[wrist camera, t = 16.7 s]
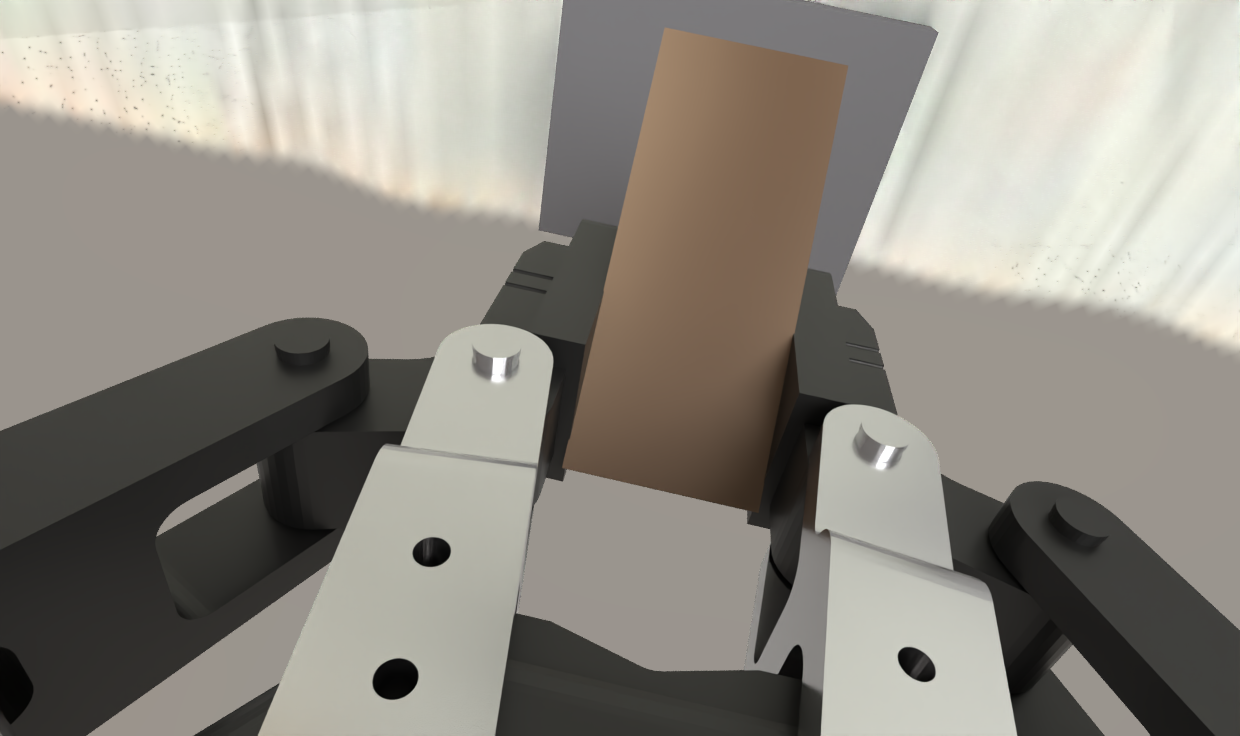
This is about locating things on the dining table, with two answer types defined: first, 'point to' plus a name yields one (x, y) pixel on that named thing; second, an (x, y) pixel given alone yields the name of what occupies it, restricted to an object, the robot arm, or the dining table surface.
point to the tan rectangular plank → (708, 270)
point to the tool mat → (740, 12)
